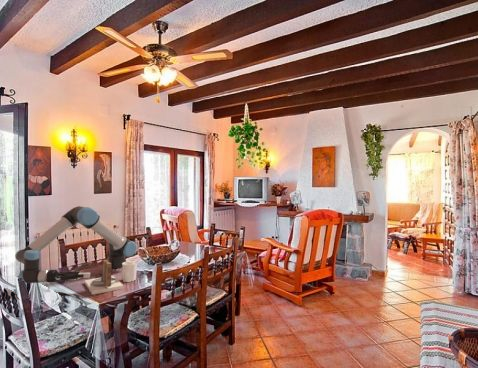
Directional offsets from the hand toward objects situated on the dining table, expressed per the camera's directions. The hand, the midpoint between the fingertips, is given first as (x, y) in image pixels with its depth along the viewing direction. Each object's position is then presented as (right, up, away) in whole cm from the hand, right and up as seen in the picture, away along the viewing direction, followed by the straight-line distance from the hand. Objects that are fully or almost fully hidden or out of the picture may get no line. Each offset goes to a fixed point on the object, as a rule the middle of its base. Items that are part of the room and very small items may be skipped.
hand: (89, 275), depth 179 cm
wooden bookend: (+6, -7, +6) cm, 12 cm away
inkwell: (-19, -9, +24) cm, 32 cm away
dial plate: (+5, -10, +9) cm, 14 cm away
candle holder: (+17, -10, +21) cm, 28 cm away
